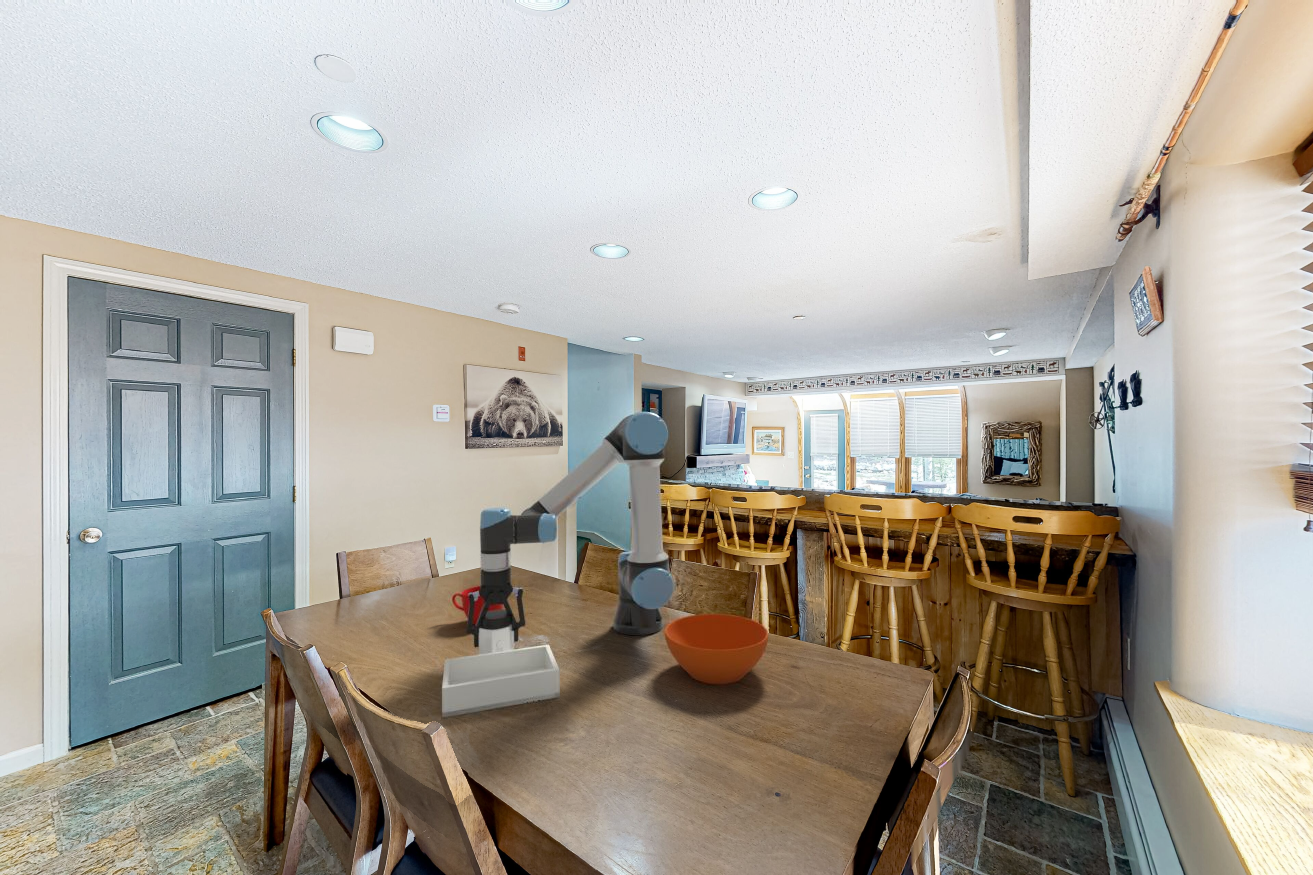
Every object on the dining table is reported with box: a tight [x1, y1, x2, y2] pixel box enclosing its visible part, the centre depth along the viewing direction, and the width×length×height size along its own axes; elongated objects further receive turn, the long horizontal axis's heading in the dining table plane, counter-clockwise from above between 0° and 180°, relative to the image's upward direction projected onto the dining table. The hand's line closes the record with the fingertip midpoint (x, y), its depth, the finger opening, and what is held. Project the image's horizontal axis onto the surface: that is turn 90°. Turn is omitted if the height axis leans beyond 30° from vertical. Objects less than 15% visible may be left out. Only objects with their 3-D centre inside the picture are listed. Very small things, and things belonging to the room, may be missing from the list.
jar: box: [479, 609, 513, 654], centre depth 134 cm, size 9×8×12 cm
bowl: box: [664, 613, 769, 685], centre depth 126 cm, size 25×25×10 cm
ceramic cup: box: [451, 585, 504, 626], centre depth 165 cm, size 13×17×10 cm
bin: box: [441, 644, 561, 719], centre depth 117 cm, size 24×16×6 cm, turn 110°
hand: (496, 656), depth 134 cm, fingers open, 7 cm apart
